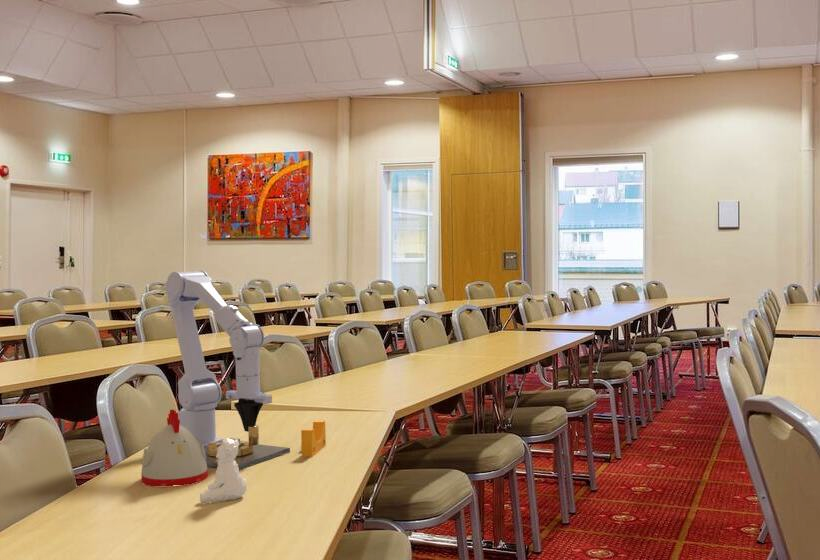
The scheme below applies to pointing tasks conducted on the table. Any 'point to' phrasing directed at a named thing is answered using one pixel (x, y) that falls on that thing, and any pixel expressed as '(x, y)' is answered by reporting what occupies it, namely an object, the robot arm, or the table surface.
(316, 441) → the pipe clamp
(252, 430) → the ring nut
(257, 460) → the housing
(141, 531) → the table surface
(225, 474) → the seated beast figurine
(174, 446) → the kitchen timer
